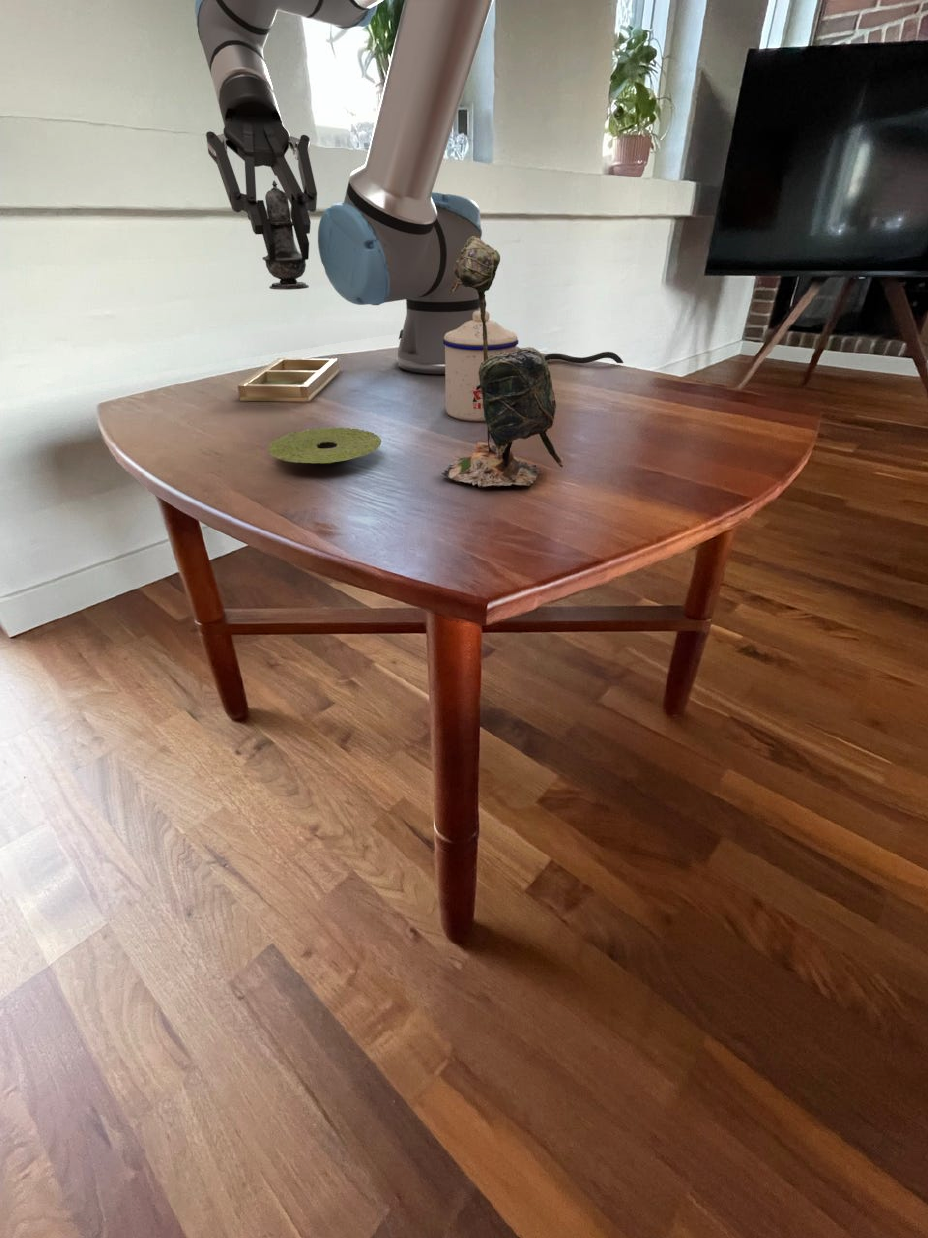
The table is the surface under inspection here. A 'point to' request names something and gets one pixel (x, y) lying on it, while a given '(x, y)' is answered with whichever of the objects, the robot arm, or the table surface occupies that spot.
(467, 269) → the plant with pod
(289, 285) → the salt shaker
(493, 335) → the teacup with lid
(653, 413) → the table surface
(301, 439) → the mat
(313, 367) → the wooden divided tray
